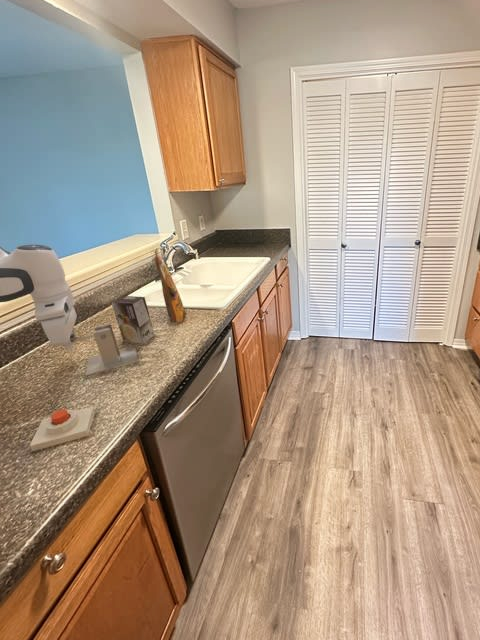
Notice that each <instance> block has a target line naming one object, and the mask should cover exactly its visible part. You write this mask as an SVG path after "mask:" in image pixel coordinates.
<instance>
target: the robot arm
mask: <svg viewBox="0 0 480 640" xmlns="http://www.w3.org/2000/svg"><path fill="white" fill-rule="evenodd" d="M28 295H30V296H31V298H32V301H33V305H34V307H35V308H34V316H35V320H36V321H40V324H41V327H42V329H43V332H44V334H45V336H46V337H47V339H48V341H49V343H50V344H51V345H52V346H54V347H56V346H57V347H58V346H61V345H62V346H63V347H64V349H65V351H72V350H74V347H75V345H74V342H73V343H72V342H71V341H70V336H73V337H74V338H75V337H77V334H76V331H75V330H76V329H75V324H76V321H77V318H78V317H77V315H78V314H77V313H76V309H75V307H74V305H76V300H75V298H74V295H73V293H72V290H71V287H70V286H69V284H68V282H67V281H66V273H65V271H64V267H63V265H62V263H61V260H60V258H59V256H58V254H57V253H56V252H55V251H54V249H53V248H51V247H50V246H48V245H43V244H24V245H20V246H17V247H16V248H15V249H14V250H13V251H12V252H9V251H7V250H5V249H4V248H3V247H1V246H0V303H7V302H11V301H15V300H17V299H21V298H23V297H26V296H28Z"/></svg>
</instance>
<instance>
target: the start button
mask: <svg viewBox="0 0 480 640" xmlns="http://www.w3.org/2000/svg"><path fill="white" fill-rule="evenodd" d="M67 410H68V409H59V410H57V411H55V412H54V413H52V414H51V415H50V417H51V419H52V422H53V424H55V425H58V424H62V423H63V422H65V421H67V420H68V419H69V414H68V412H67Z"/></svg>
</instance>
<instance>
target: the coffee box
mask: <svg viewBox="0 0 480 640" xmlns="http://www.w3.org/2000/svg"><path fill="white" fill-rule="evenodd" d="M111 306H112V309H113V312H114V315H115V316H114V317H115V319H116V322H117V325H118V329H119V331H120V335H121V338H122V341H123V342H128V343H136V344H137V343H138V344H145V343H147V342H148V341H149V340H151V339H152V338H154V336H155V331H154V327H153V324H152V320H151V316H150V312H149V309H148V305H147V301H146V297H145V296H135V295H134V296H133V295H132V296H131V295H122V296H120V297H118V298H117V299H115V300H114V301H111Z"/></svg>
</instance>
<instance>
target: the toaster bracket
mask: <svg viewBox="0 0 480 640" xmlns="http://www.w3.org/2000/svg"><path fill="white" fill-rule="evenodd" d="M107 327H108V329H104V330H99V331H98V329H102V328H107ZM93 328H94V331H93V332H92V334H94V339H95V342H96V345H97V348H98V351H99V354H97V355H92V356H89V357H88V359H87V365H86V369H85V377H88V376H89V377H90V376H92V375H96V374H100V373H104V372H108V371H111V370H115V369H119V368H123V367H126V366H130V365H134V364H137V363H138V355H137V346H136V345H134V346H130V347H126V348H122V349H121V348H120V349H119V345H118V343H117V339H116V336H115V332H114V330H113V327H112V323H111V322H110V323H104V324H100V325H95V326H94V327H93Z"/></svg>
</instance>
